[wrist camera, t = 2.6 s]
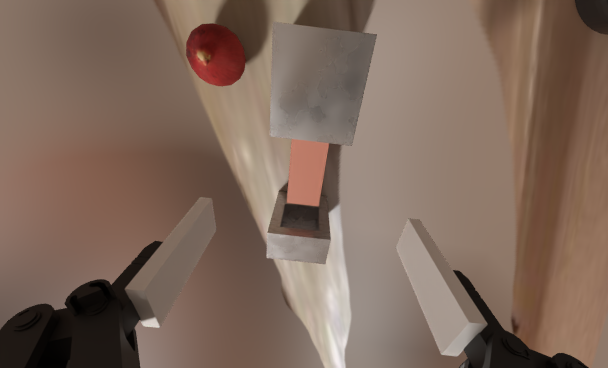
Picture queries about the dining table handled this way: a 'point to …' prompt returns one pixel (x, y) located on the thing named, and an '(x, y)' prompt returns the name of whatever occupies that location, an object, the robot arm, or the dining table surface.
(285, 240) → the socket
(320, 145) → the pink square post
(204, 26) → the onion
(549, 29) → the dining table surface
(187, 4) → the dining table surface
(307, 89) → the plate
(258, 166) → the dining table surface
